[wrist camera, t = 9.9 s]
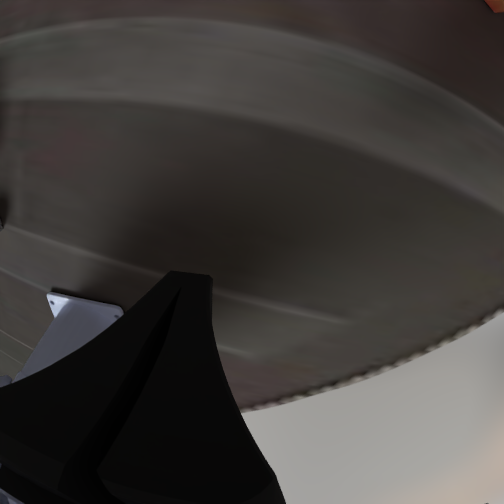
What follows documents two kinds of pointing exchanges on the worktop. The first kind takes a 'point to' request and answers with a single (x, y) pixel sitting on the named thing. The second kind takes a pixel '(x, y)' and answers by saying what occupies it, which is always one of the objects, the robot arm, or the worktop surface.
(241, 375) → the worktop surface
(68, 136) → the worktop surface
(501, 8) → the cracker box
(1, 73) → the worktop surface
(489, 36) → the worktop surface
